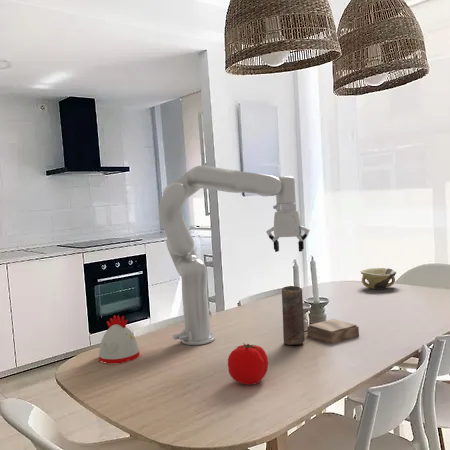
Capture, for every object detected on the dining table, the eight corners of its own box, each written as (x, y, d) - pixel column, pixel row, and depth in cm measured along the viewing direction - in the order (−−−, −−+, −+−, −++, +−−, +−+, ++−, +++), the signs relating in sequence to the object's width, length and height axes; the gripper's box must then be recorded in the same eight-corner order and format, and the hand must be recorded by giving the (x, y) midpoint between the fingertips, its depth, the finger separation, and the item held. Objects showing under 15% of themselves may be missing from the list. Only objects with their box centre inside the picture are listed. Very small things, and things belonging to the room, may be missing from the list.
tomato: (239, 393, 134) (236, 352, 133) (222, 379, 144) (220, 342, 144) (277, 383, 139) (274, 344, 138) (258, 371, 149) (256, 335, 148)
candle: (304, 340, 176) (301, 285, 175) (306, 346, 169) (302, 289, 168) (283, 341, 177) (279, 286, 176) (284, 347, 170) (280, 290, 169)
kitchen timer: (126, 365, 164) (122, 320, 163) (91, 363, 169) (87, 320, 168) (146, 351, 177) (143, 310, 176) (114, 350, 182) (110, 310, 181)
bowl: (363, 292, 248) (362, 273, 247) (359, 285, 265) (358, 268, 265) (399, 291, 245) (398, 272, 244) (393, 284, 262) (392, 266, 262)
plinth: (331, 343, 170) (330, 332, 170) (307, 335, 182) (306, 324, 182) (359, 335, 177) (358, 324, 177) (334, 328, 188) (333, 318, 188)
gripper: (262, 209, 192) (264, 252, 193) (305, 207, 186) (308, 252, 187) (268, 208, 199) (270, 250, 200) (310, 206, 192) (312, 249, 193)
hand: (288, 251), depth 193 cm, fingers open, 9 cm apart
